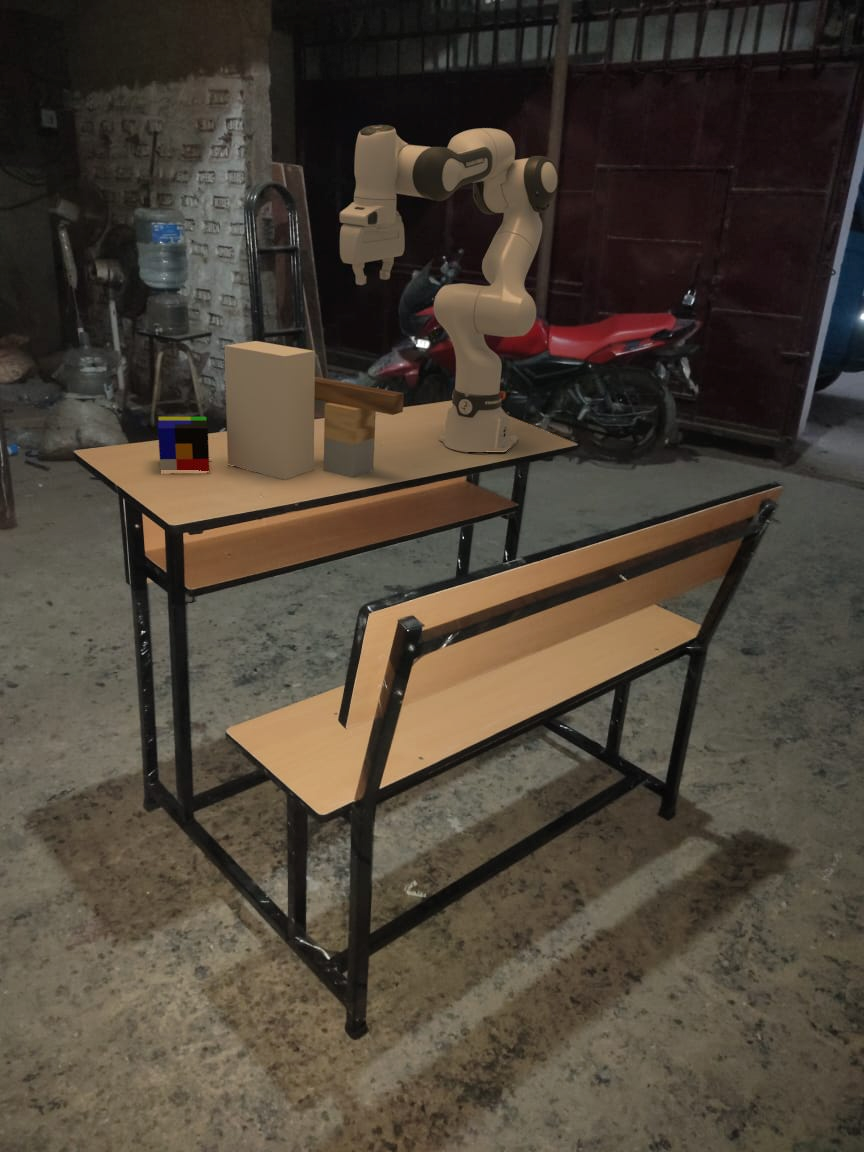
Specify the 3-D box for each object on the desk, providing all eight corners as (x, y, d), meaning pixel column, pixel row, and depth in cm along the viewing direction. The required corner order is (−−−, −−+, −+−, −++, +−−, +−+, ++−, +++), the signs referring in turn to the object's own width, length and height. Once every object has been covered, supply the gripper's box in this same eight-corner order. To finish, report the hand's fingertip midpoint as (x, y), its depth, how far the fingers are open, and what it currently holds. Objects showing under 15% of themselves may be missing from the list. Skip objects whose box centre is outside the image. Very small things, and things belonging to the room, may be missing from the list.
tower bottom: (344, 463, 198) (345, 431, 195) (373, 470, 194) (374, 437, 191) (323, 470, 191) (324, 437, 188) (353, 477, 188) (354, 444, 185)
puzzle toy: (160, 474, 181) (157, 428, 177) (161, 461, 190) (158, 416, 186) (209, 473, 184) (207, 428, 180) (207, 460, 193) (206, 416, 189)
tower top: (345, 431, 195) (345, 398, 192) (374, 437, 191) (375, 404, 188) (324, 437, 188) (324, 403, 185) (354, 444, 185) (355, 410, 182)
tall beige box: (257, 456, 198) (255, 341, 188) (313, 469, 191) (315, 351, 181) (228, 465, 190) (224, 345, 180) (285, 479, 183) (285, 356, 173)
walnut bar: (311, 394, 194) (312, 376, 192) (402, 411, 183) (403, 393, 182) (301, 396, 190) (301, 378, 189) (392, 415, 180) (393, 396, 178)
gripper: (388, 208, 188) (386, 274, 195) (334, 214, 172) (334, 285, 179) (413, 211, 186) (410, 277, 192) (360, 217, 170) (359, 289, 176)
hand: (373, 281), depth 185 cm, fingers open, 8 cm apart
